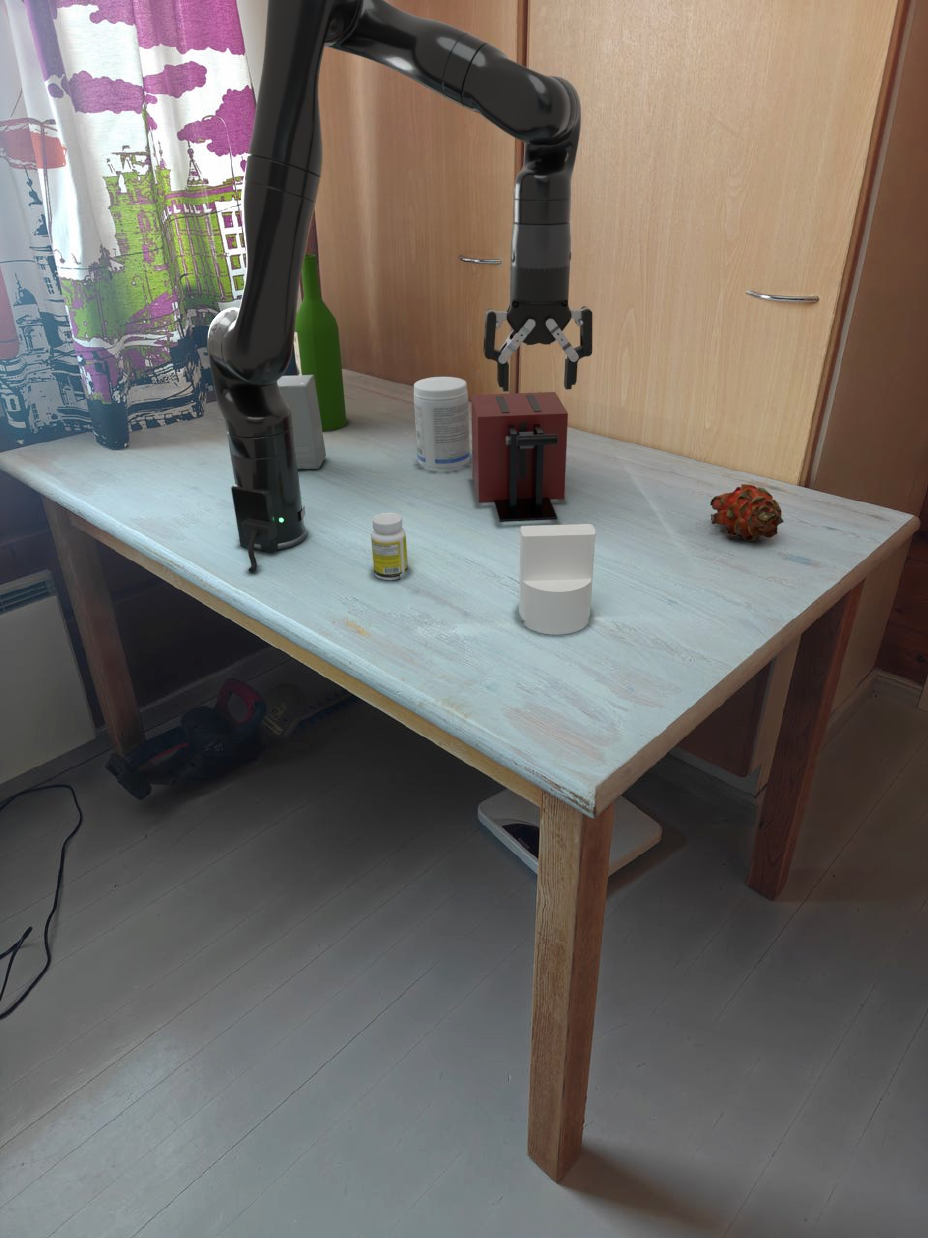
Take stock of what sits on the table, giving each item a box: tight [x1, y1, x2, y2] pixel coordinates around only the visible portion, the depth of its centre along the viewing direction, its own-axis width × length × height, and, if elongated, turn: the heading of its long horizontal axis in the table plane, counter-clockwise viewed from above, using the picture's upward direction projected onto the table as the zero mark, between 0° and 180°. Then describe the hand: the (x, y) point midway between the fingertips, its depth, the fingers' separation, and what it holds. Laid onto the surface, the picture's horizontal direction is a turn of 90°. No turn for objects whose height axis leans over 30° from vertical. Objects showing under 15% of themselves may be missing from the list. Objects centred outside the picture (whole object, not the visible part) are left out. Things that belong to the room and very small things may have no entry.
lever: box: [517, 432, 558, 449], centre depth 128 cm, size 14×6×2 cm, turn 4°
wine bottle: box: [293, 254, 347, 432], centre depth 173 cm, size 9×9×32 cm
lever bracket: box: [493, 424, 558, 523], centre depth 136 cm, size 10×9×14 cm
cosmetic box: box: [277, 375, 327, 470], centre depth 157 cm, size 8×7×16 cm
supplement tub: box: [413, 376, 471, 469], centre depth 156 cm, size 10×10×15 cm
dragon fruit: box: [707, 483, 785, 542], centre depth 130 cm, size 8×8×12 cm
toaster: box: [470, 391, 569, 504], centre depth 144 cm, size 12×14×15 cm
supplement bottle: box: [370, 512, 409, 581], centre depth 120 cm, size 5×5×8 cm
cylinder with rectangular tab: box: [518, 523, 596, 636], centre depth 108 cm, size 9×9×12 cm
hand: (536, 389), depth 119 cm, fingers open, 8 cm apart
